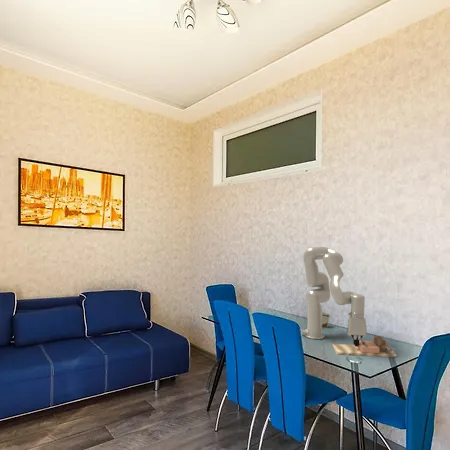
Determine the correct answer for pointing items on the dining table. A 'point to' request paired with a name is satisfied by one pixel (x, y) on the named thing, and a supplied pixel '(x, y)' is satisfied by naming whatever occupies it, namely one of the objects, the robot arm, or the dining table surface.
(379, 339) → the walnut block
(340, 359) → the dining table surface
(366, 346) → the block
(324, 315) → the food container
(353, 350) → the vise
